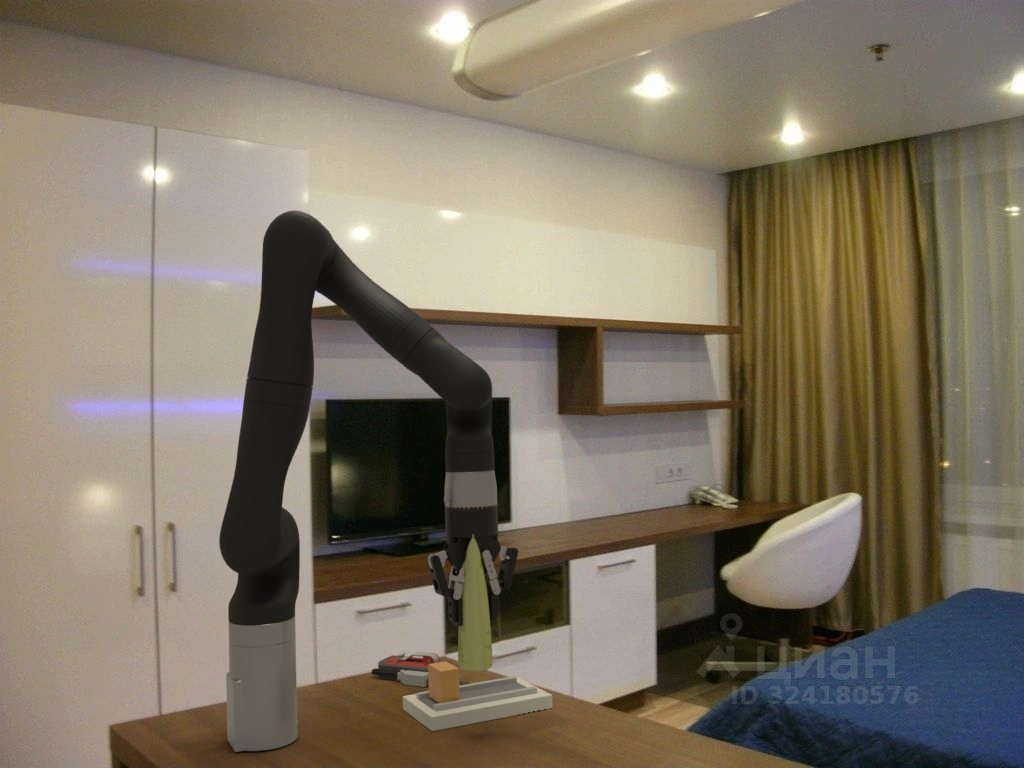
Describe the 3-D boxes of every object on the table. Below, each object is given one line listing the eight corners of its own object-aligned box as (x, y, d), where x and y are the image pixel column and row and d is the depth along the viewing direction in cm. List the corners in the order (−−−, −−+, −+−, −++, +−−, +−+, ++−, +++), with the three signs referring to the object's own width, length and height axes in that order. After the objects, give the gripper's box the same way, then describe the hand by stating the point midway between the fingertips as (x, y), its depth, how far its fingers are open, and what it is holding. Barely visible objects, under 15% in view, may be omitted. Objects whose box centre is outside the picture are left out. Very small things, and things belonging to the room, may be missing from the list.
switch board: (432, 731, 133) (431, 711, 133) (402, 709, 143) (402, 691, 144) (552, 708, 142) (551, 689, 142) (516, 689, 153) (516, 671, 153)
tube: (503, 667, 131) (498, 529, 131) (477, 675, 127) (472, 533, 128) (475, 661, 135) (471, 527, 135) (450, 668, 131) (445, 531, 132)
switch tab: (441, 704, 137) (440, 671, 138) (428, 696, 142) (428, 664, 142) (459, 701, 139) (458, 668, 139) (446, 693, 143) (446, 661, 143)
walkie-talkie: (364, 683, 160) (466, 694, 152) (363, 657, 160) (465, 667, 152) (390, 670, 168) (489, 680, 160) (390, 645, 168) (489, 654, 160)
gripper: (434, 508, 125) (438, 634, 125) (527, 501, 132) (531, 621, 131) (414, 504, 132) (418, 624, 131) (504, 497, 138) (507, 612, 138)
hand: (474, 622), depth 131 cm, fingers closed on tube, 4 cm apart
